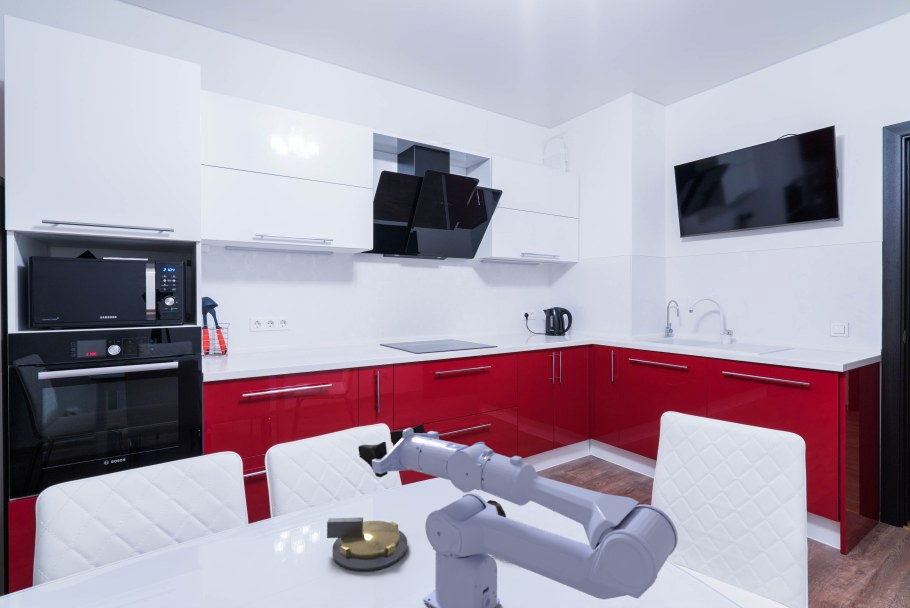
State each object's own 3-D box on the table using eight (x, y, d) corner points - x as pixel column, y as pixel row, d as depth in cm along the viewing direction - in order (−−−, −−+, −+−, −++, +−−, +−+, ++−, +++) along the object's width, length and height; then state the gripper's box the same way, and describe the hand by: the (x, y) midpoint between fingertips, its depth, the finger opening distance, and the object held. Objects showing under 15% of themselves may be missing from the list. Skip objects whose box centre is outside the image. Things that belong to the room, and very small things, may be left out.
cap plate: (422, 548, 86) (422, 542, 86) (363, 582, 76) (363, 575, 76) (375, 524, 96) (375, 518, 96) (317, 551, 85) (317, 545, 85)
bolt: (495, 523, 100) (503, 559, 85) (475, 511, 100) (480, 545, 85) (508, 500, 101) (518, 532, 86) (488, 489, 101) (496, 518, 86)
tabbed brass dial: (416, 540, 86) (416, 517, 86) (364, 569, 77) (364, 543, 77) (375, 519, 94) (375, 498, 94) (323, 543, 85) (323, 520, 85)
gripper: (454, 419, 80) (402, 411, 89) (395, 448, 69) (342, 436, 78) (459, 457, 81) (406, 445, 90) (401, 492, 70) (347, 475, 78)
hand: (376, 443), depth 84 cm, fingers open, 7 cm apart
